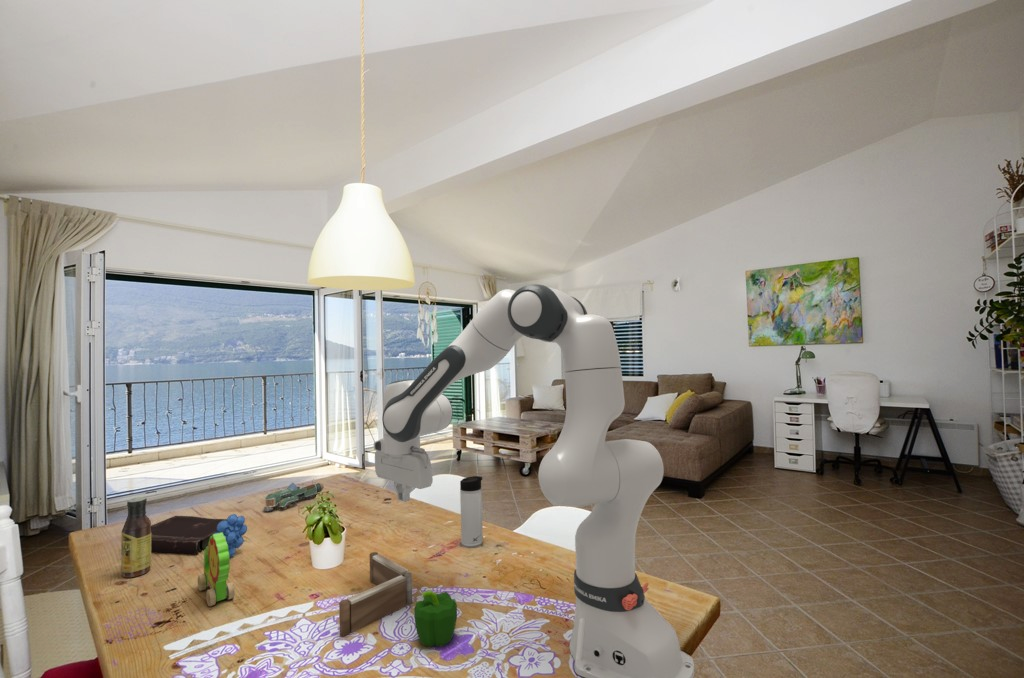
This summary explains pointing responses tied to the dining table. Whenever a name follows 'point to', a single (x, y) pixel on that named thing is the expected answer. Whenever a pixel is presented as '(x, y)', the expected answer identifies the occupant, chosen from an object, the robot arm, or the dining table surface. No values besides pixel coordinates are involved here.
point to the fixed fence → (374, 604)
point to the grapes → (233, 532)
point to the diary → (182, 535)
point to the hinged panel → (384, 569)
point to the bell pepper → (435, 618)
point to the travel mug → (471, 512)
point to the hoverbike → (291, 495)
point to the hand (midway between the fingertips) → (403, 500)
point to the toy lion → (216, 570)
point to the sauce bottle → (136, 540)
